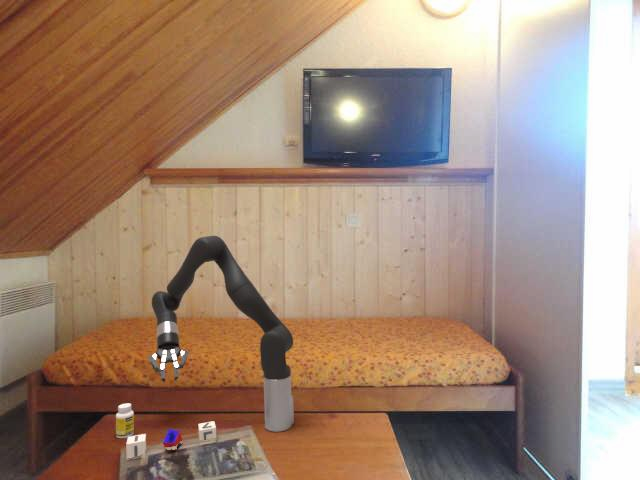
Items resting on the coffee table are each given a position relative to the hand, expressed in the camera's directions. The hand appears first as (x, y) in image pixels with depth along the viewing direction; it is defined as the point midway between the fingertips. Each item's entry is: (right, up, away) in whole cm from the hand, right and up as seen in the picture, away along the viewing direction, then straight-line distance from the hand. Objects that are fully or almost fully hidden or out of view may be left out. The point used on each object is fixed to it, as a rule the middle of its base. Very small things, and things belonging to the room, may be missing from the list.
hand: (170, 380), depth 136 cm
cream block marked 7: (+15, -17, -8) cm, 24 cm away
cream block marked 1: (-4, -17, -16) cm, 24 cm away
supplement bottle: (-14, -18, -3) cm, 23 cm away
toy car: (+6, -17, -12) cm, 22 cm away
